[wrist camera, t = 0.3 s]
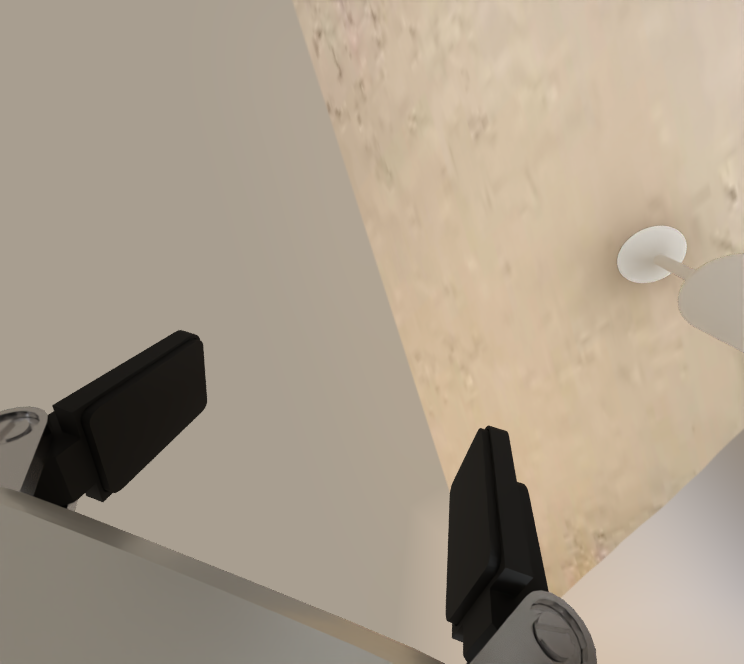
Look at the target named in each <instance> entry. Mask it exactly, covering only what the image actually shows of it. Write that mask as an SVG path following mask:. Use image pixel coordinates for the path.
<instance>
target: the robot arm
mask: <svg viewBox="0 0 744 664" xmlns="http://www.w3.org/2000/svg"><path fill="white" fill-rule="evenodd" d="M206 404H207V392H206V379H205V366H204V351H203V343H202V341H200V338H199V337H198V336H197V335H195V334H192V333H189V332H186V331H182V330H179V331H176V332H174V333H173V334H171V335H170V336H168V337H166V338H165V339H163V340H161V341H159V342H158V343H156V344H154V345H153V346H151V347H149V348H148V349H146V350H144V351H143V352H141V353H139V354H138V355H136V356H134V357H133V358H131V359H129V360H128V361H126V362H124V363H122V364H121V365H119V366H118V367H116V368H115V369H112V370H111V371H109V372H108V373H106V374H104V375H102V376H101V377H99V378H97V379H96V380H94V381H92V382H91V383H89V384H87V385H86V386H84V387H82V388H81V389H79V390H77V391H76V392H74V393H72V394H71V395H69V396H68V397H66V398H64V399H62V400H61V401H59V402H57V403H56V404H54V405H53V409H54V412H52V413H51V414H49V415H47V414H46V412H45V411H44V410H42V409H40V408H36V407H17V408H12V409H7V410H4V411H1V412H0V664H445V663H443V662H440V661H438V660H436V659H434V658H432V657H430V656H428V655H426V654H424V653H422V652H420V651H418V650H416V649H414V648H412V647H409V646H407V645H405V644H402V643H400V642H398V641H395V640H393V639H391V638H388V637H386V636H384V635H381V634H379V633H377V632H374V631H372V630H369V629H367V628H365V627H363V626H360V625H358V624H355V623H353V622H351V621H348V620H346V619H343V618H341V617H338V616H336V615H333V614H331V613H328V612H326V611H324V610H321V609H319V608H316V607H314V606H311V605H309V604H306V603H304V602H301V601H299V600H296V599H294V598H291V597H289V596H286V595H284V594H282V593H279V592H277V591H274V590H272V589H269V588H267V587H264V586H262V585H259V584H256V583H254V582H252V581H249V580H247V579H244V578H242V577H239V576H237V575H234V574H232V573H229V572H227V571H224V570H221V569H219V568H217V567H214V566H211V565H209V564H206V563H204V562H201V561H199V560H196V559H194V558H191V557H189V556H186V555H183V554H181V553H179V552H176V551H174V550H171V549H168V548H166V547H163V546H161V545H159V544H156V543H153V542H151V541H148V540H146V539H143V538H141V537H138V536H135V535H133V534H130V533H128V532H125V531H123V530H120V529H118V528H115V527H113V526H110V525H107V524H105V523H102V522H100V521H97V520H94V519H92V518H89V517H87V516H84V515H82V514H79V513H77V512H75V509H76V504H77V500H78V499H79V498H80V497H81V496H82V495H83V494H84V493H86V496H88V497H91V498H94V499H96V500H98V501H101V502H104V501H105V500H106V499H107V498H108V497H109V496H110V495H111V494H112V493H116V492H118V491H120V490H121V489H122V488H124V487H125V486H126V485H127V484H128V483H129V481H131V480H132V479H133V478H134V477H135V476H136V475H137V474H138V473H139V472H140V471H141V470H142V469H143V468H144V467H145V466H146V465H147V464H148V463H149V462H150V461H152V459H154V457H156V456H157V455H158V454H159V453H160V452H161V451H162V450H163V449H164V448H165V447H166V446H167V445H168V444H169V443H170V442H171V441H172V440H173V439H174V438H175V437H176V436H177V435H178V434H179V433H180V432H181V431H182V430H183V429H185V427H187V426H188V425H189V424H190V423H191V422H192V421H193V420H194V419H195V418H196V417H197V416H198V415H199V414H200V413H201V412H202V411H203V410H204V408H205V406H206ZM446 619H447V621H448V622H451V623H452V638H453V639H456V640H458V641H461V642H463V656H464V658H465V660H466V661H467V664H597V659H596V649H595V646H594V643H593V640H592V637H591V635H590V633H589V631H588V629H587V627H586V625H585V624H584V622H583V620H582V619H581V618H580V617H579V615H578V614H577V613H576V612H575V610H574V609H573V608H572V607H571V606H570V605H568V604H567V603H566V602H565V601H564V600H563V599H561V598H560V597H558V596H556V595H554V594H553V593H550V592H549V591H548V586H547V581H546V576H545V571H544V567H543V562H542V557H541V552H540V547H539V542H538V537H537V532H536V527H535V522H534V517H533V512H532V507H531V502H530V497H529V493H528V489H527V487H526V486H525V484H522V483H519V482H517V480H516V474H515V469H514V463H513V457H512V451H511V445H510V440H509V434H508V432H507V431H505V430H501V429H498V428H495V427H492V426H487V427H486V428H485V429H482V428H480V429H479V430H478V432H477V434H476V436H475V438H474V440H473V442H472V444H471V446H470V448H469V450H468V452H467V454H466V456H465V458H464V460H463V462H462V464H461V467H460V469H459V471H458V473H457V475H456V477H455V479H454V481H453V483H452V486H451V490H450V504H449V533H448V561H447V591H446Z"/></svg>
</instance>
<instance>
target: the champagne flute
mask: <svg viewBox="0 0 744 664" xmlns="http://www.w3.org/2000/svg"><path fill="white" fill-rule="evenodd" d="M686 250H687V244H686V240H685V238H684V236H683V235H682V233H681V232H679V231H678V230H677V229H675V228H672V227H668V226H653V227H649V228H646V229H643V230H641V231H639V232H637V233H636V234H634V235H633V236H631V237H630V238H629V239H628V240H627V241H626V242H625V243H624V245H623V246H622V247H621V249H620V251H619V254H618V257H617V266H618V269H619V271H620V273H621V274H622V276H623V277H625V278H626V279H627V280H630V281H632V282H636V283H650V282H654V281H658V280H660V279H663V278H665V277H666V276H668V275H670V274H671V273H672V274H674V275H676V276H678V277H680V278H682V279H684V280H685V281H684V283H683V284H682V286H681V289H680V291H679V296H678V308H679V311H680V313H681V315H682V317H683V318H684V319H685V320H686V321H687V322H688V323H689V324H690V325H692V326H693V327H695V328H697V329H699V330H701V331H703V332H705V333H707V334H709V335H711V336H713V337H715V338H716V339H718V340H720V341H722V342H724V343H726V344H728V345H730V346H732V347H734V348H736V349H738V350H739V351H741V352H743V353H744V253H740V254H732V255H727V256H724V257H720V258H717V259H714V260H712V261H710V262H707V263H705V264H704V265H702V266H700V267H699V268H697V269H696V270H695V269H693V268H691V267H689V266H687V265H684V264H682V261H683V259H684V257H685V254H686Z"/></svg>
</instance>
